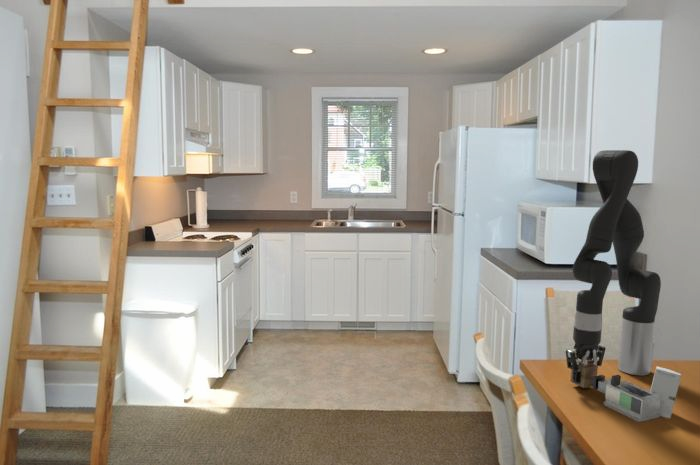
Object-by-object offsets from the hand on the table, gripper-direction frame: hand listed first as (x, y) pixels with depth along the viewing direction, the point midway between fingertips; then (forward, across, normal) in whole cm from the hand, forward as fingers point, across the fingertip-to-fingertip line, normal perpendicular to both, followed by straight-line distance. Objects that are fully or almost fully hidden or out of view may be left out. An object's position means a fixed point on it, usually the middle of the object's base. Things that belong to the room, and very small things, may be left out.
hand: (583, 381), depth 162 cm
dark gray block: (-5, +3, +13) cm, 14 cm away
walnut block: (+1, 0, 0) cm, 1 cm away
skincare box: (+3, -6, +20) cm, 21 cm away
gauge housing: (+2, 0, +16) cm, 16 cm away
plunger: (0, +1, +10) cm, 10 cm away
